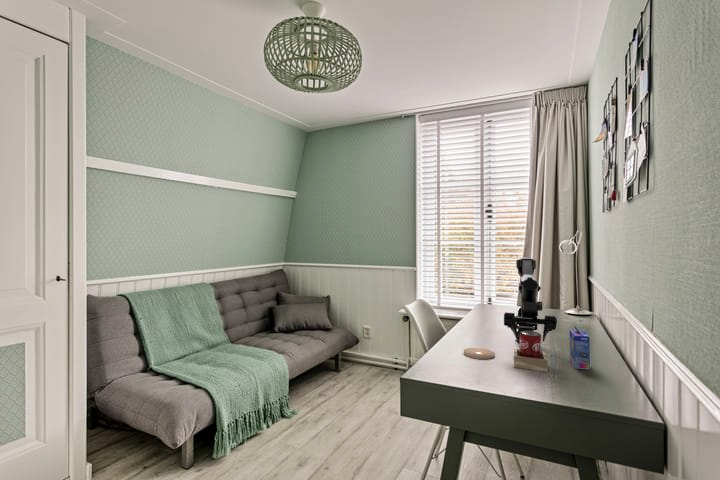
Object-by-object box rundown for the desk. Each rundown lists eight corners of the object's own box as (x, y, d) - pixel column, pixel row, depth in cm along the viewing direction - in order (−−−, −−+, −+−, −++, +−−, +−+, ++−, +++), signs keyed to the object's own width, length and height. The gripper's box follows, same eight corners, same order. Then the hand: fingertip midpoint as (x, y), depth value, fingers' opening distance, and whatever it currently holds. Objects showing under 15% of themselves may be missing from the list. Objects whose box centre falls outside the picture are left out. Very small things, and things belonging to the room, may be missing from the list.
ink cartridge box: (568, 360, 151) (569, 323, 151) (584, 362, 149) (585, 324, 149) (573, 368, 141) (574, 328, 141) (590, 370, 139) (591, 330, 139)
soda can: (540, 363, 146) (541, 331, 146) (540, 369, 140) (541, 336, 140) (519, 360, 149) (520, 329, 149) (518, 366, 143) (519, 333, 143)
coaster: (482, 349, 164) (482, 347, 164) (501, 357, 153) (501, 355, 153) (457, 351, 160) (457, 349, 160) (474, 360, 149) (474, 357, 149)
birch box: (513, 358, 152) (513, 348, 152) (544, 362, 148) (544, 351, 148) (514, 367, 141) (514, 356, 141) (547, 371, 137) (547, 360, 137)
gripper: (504, 292, 154) (503, 325, 144) (556, 295, 147) (560, 330, 137) (504, 308, 161) (503, 341, 151) (554, 312, 155) (556, 346, 144)
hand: (530, 339), depth 146 cm, fingers open, 9 cm apart
